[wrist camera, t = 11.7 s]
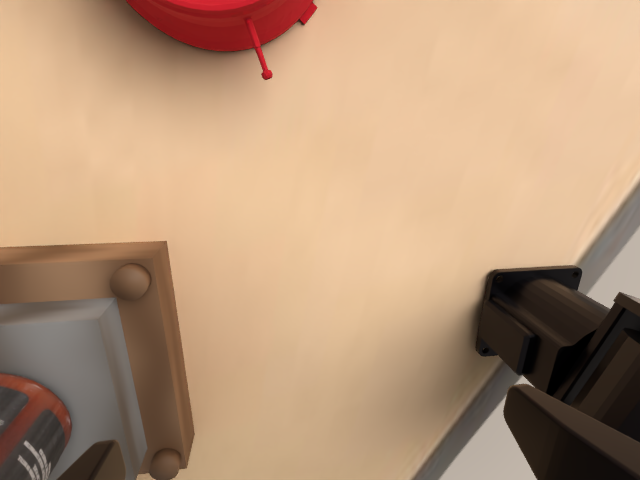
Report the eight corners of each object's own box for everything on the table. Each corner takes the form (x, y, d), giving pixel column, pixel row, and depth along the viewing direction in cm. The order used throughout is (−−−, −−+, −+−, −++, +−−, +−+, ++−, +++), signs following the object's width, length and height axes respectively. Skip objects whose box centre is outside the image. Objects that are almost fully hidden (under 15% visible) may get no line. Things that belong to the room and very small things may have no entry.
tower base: (166, 241, 19) (138, 275, 15) (194, 433, 24) (179, 501, 20) (-130, 252, 17) (-257, 295, 13) (-37, 459, 22) (-109, 540, 18)
